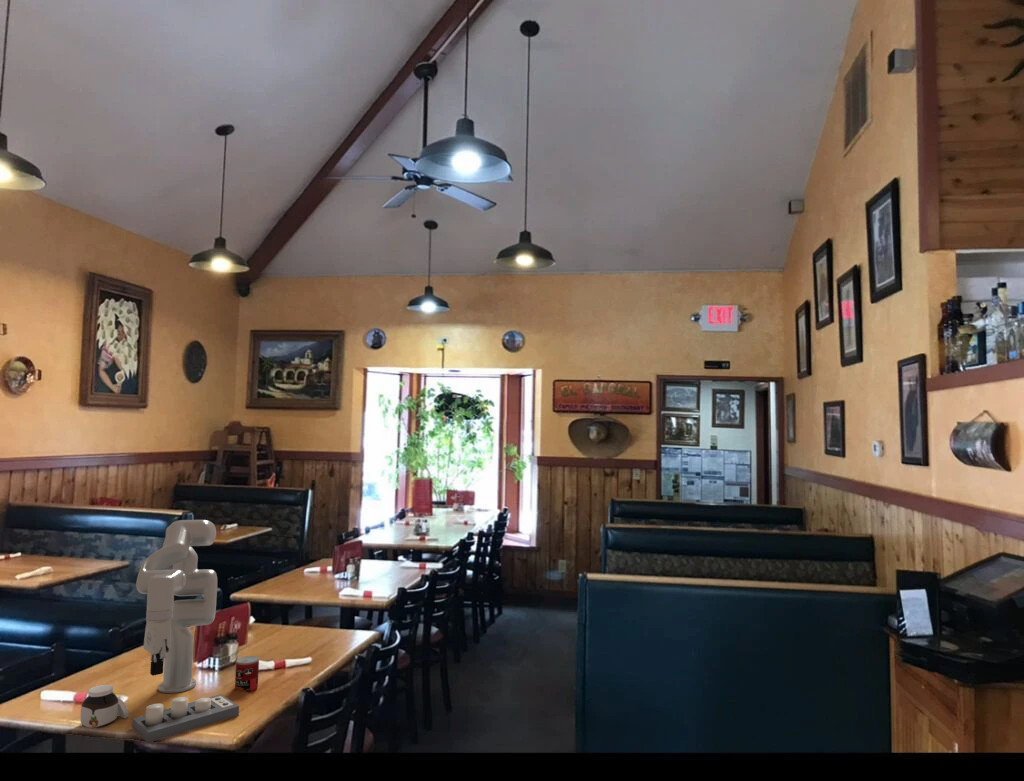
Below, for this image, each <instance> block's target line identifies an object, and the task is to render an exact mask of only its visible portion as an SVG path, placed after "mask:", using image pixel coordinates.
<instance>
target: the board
mask: <svg viewBox="0 0 1024 781" xmlns="http://www.w3.org/2000/svg"><path fill="white" fill-rule="evenodd" d="M208 698H211V709H209V710H206V711H202V712H199V713H196V712H195V701H196V700H195V701H192V702H188V710H187V716H185V717H181V718H178V719H172V718H171V707H170V708H169V707H168V708H166V709H165V708H164V709H163V722H162V723H160V724H157V725H153V726H146V725H145V720H146V714H143V715H140V716H137V717H133V718H132V719H131V720H132V721H131V722H132V724H131V729H132V730H134V732H135V733H137V735H139V736H140V737H141V739H143V740H144V741H145V742H146V743H147V744H148V743H151V742H155V741H158V740H162V739H165V738H170V737H172V736H175V735H179V734H182V733H185V732H189V731H191V730H195V729H198V728H201V727H205V726H208V725H212V724H215V723H218V722H222V721H225V720H228V719H231V718H235V717H237V716H239V715H240V714H239V713H240V705H238V704H236V702H234V701H233V700H231V699H229V698H228V697H226V696H224V695H223V694H222V693H221V694H217V695H213V696H209V697H208Z"/></svg>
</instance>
